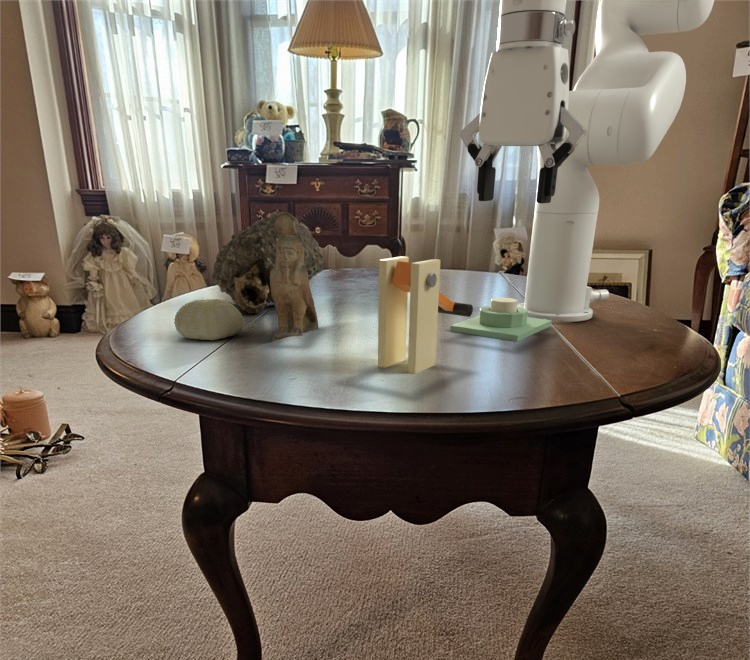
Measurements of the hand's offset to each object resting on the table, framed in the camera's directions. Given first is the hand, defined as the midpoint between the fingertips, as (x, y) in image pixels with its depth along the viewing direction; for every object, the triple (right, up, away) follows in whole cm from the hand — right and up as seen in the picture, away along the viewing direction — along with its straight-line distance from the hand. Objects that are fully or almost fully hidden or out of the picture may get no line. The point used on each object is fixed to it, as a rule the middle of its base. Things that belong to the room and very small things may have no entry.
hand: (514, 200), depth 85 cm
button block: (0, -16, +8) cm, 18 cm away
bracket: (-14, -25, -10) cm, 31 cm away
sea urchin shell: (-41, -16, +8) cm, 45 cm away
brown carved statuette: (-29, -16, +8) cm, 34 cm away
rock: (-37, -6, +27) cm, 46 cm away
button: (0, -13, +6) cm, 14 cm away
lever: (-12, -17, -10) cm, 23 cm away
